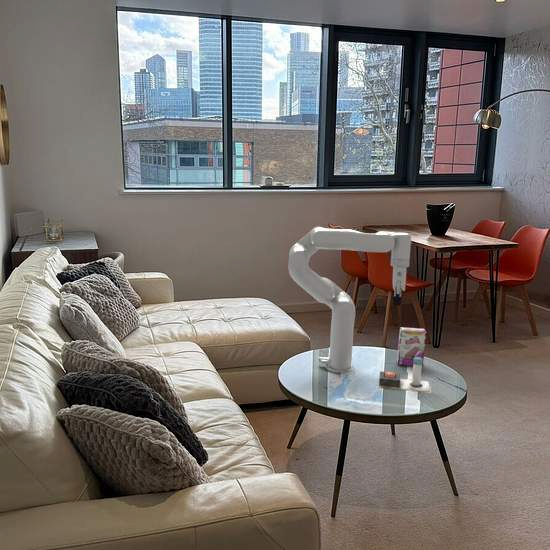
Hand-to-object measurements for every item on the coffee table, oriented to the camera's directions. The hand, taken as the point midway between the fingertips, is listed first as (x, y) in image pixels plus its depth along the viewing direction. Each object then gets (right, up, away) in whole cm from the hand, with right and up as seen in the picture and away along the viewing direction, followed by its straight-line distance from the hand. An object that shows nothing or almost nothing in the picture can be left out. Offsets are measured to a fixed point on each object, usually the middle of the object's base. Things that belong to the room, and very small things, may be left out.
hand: (396, 305), depth 245 cm
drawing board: (+1, -32, -12) cm, 34 cm away
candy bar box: (+9, -27, +14) cm, 32 cm away
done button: (-5, -30, -11) cm, 33 cm away
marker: (+5, -31, -13) cm, 34 cm away
